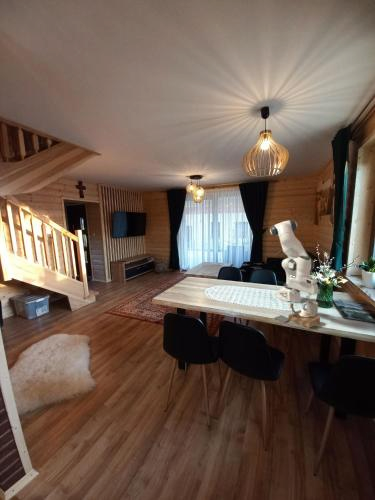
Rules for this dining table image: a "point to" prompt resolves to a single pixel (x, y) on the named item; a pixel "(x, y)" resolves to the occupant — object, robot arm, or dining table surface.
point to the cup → (311, 307)
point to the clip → (292, 309)
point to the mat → (282, 318)
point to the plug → (304, 313)
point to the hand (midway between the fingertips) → (301, 296)
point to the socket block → (304, 319)
